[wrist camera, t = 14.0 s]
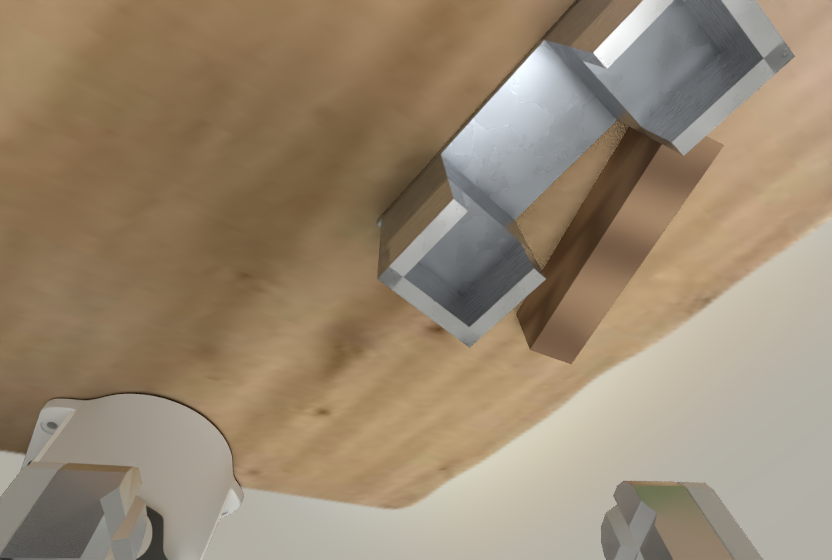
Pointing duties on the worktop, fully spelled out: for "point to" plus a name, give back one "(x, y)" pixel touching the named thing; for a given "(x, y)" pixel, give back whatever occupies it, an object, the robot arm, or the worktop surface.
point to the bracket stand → (564, 141)
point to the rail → (609, 240)
